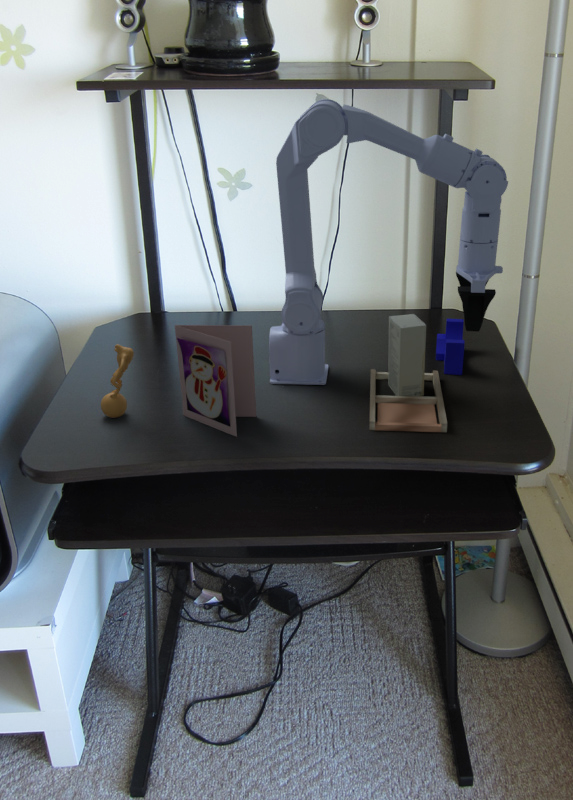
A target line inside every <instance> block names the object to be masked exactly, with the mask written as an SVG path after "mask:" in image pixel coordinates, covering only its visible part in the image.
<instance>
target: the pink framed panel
mask: <svg viewBox="0 0 573 800" xmlns="http://www.w3.org/2000/svg"><path fill="white" fill-rule="evenodd" d="M376 380H388V371H386V372H385V371H376V369H375V368H371V369H370V387H369V388H370V389H369V390H370V391H369V396H370V397H369V426H368V427H369V431H386V432H387V431H389V432H390V431H391V432H392V431H393V432H394V431H395V432H421V433H423V432H424V433H447V432H448V420H447V414H446V409H445V403H444V397H443V392H442V386H441V382H440V381H441V380H440V376H439V371H438V370H432V372H431V373H430V372H425V373H424V381H432V385H433V390H434V396H396V395H384V394H383V395H382V394H381V395H379V394H378V395H377V394H376ZM376 404H377V421H376ZM435 405H436V407H435ZM436 411H437V413H436ZM437 414H438V415H437ZM437 416H438V419H437Z"/></svg>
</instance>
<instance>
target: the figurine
mask: <svg viewBox="0 0 573 800" xmlns="http://www.w3.org/2000/svg"><path fill="white" fill-rule="evenodd" d="M114 351H115V352H116V353H117V354H116V361H117V363H118V368H117V369H116V370H115V372H113V374H112V377H111V378H110V380H109V381H110V383H111V385H110V386H112V387H114V388H115V389H114V390H111V392H109V393H107V394H105V395H104V396H103V397H102V398H101V400H100V409H101V411H102V413H103V414H104V415H105V416H106V417H109V418H112V419H116V418H117V419H118V418H119V417H122V416H123V415H124V414H126V411H127V410H128V409H127V408H128V402H127V399H126V397H125V396H124V395H123V394H121V393H120V391H121V388H122V386H123V381H122V377H123V375H124V373H125V372H126V371H127V370H128V368H129V365H130V364H131V363H132V360H133V359H134V356H135V355H134V354H135V351H134V350H133V348H131V347H126V346H123V345H121V344H119V343H117V344H116V345H114Z"/></svg>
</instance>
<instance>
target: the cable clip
mask: <svg viewBox="0 0 573 800" xmlns="http://www.w3.org/2000/svg"><path fill="white" fill-rule="evenodd" d="M464 325H465V322H464V319H463V318H446V323H445V333H437V334H436V349H435V361H440V362H441V361H442V362H444V363H443V365H444V367H443V374H444V375H455V376H462V375H463V369H464V368H463V365H464V355H465V346H466V345H465V339H464V338H463V337H464V335H463V334H464Z"/></svg>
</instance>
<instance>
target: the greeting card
mask: <svg viewBox="0 0 573 800" xmlns="http://www.w3.org/2000/svg"><path fill="white" fill-rule="evenodd" d="M174 330H175V331H174V332H175V340H176V342H175V343H176V351H177V362H178V372H179V381H180V391H181V392H180V394H181V402H182V403H181V404H182V413H183V416H184V417H187V418H189V419H191V420H193V421H197V422H199V423H201V424H204V425H207V426H208V427H211V428H214V429H216V430H219V431H221V432H224V433H226V434H228V435H231V436H233V437H236V438H238V433H237V431H238V430H237V417H239V418H240V417H241V418H242V417H248V418H256V417H257V403H256V401H257V400H256V399H257V398H256V382H255V359H254V357H255V356H254V345H253V344H254V343H253V342H254V341H253V340H254V339H253V325H243V324H242V325H238V324H237V325H235V324H234V325H230V324H229V325H224V324H223V325H221V324H220V325H219V324H215V325H211V324H209V325H208V324H205V325H204V324H192V325H191V324H188V325H187V324H175V325H174Z"/></svg>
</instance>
